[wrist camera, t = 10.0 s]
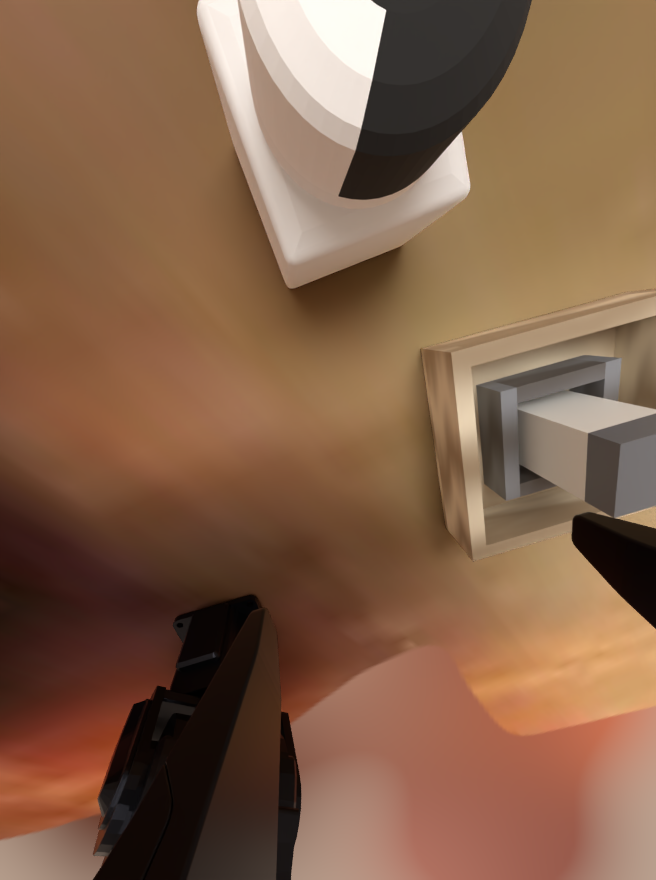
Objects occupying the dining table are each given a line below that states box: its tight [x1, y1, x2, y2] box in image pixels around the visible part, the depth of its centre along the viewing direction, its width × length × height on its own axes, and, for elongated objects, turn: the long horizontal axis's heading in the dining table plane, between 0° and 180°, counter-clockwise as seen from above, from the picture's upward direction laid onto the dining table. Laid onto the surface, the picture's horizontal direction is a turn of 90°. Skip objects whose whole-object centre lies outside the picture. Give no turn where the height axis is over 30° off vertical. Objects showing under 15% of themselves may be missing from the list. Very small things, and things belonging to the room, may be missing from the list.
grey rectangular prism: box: [517, 390, 656, 518], centre depth 18 cm, size 4×4×8 cm
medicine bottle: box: [197, 0, 532, 289], centre depth 11 cm, size 7×7×12 cm
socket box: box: [421, 289, 656, 562], centre depth 21 cm, size 14×14×4 cm
